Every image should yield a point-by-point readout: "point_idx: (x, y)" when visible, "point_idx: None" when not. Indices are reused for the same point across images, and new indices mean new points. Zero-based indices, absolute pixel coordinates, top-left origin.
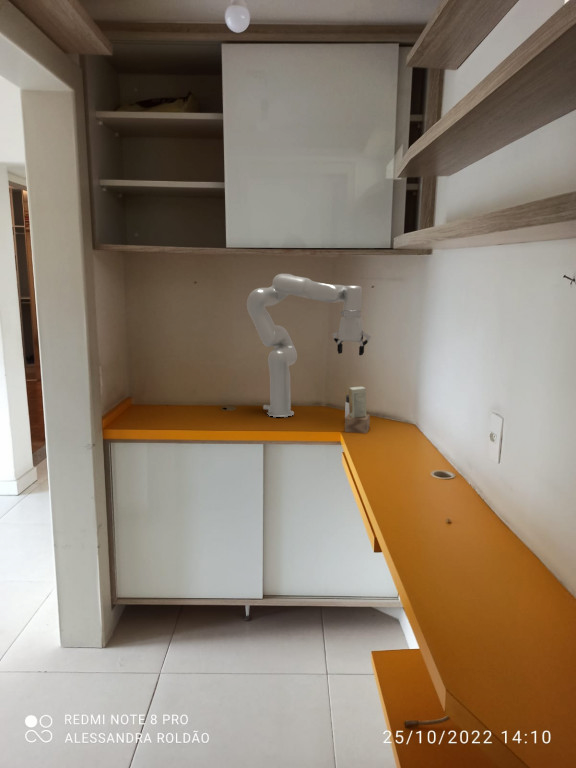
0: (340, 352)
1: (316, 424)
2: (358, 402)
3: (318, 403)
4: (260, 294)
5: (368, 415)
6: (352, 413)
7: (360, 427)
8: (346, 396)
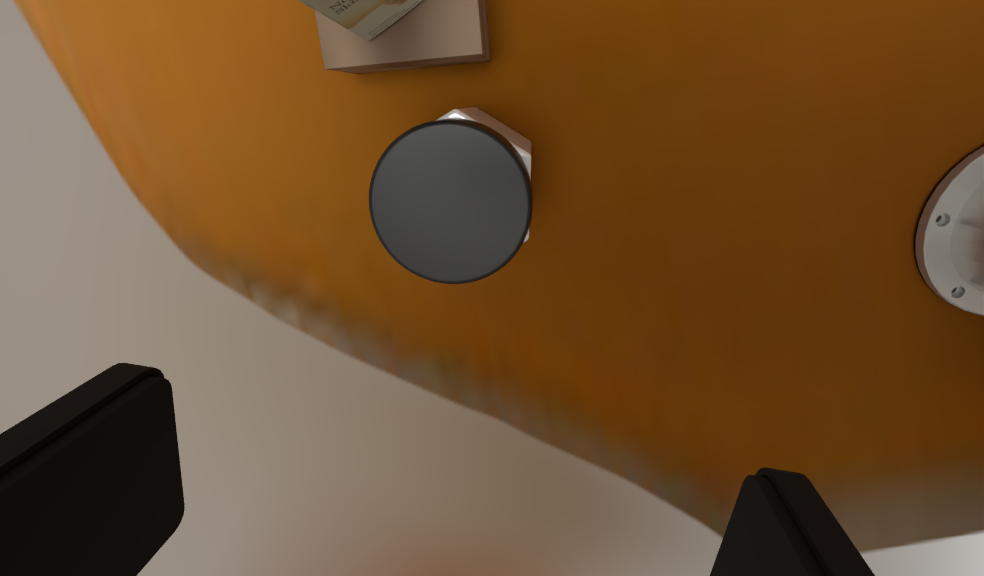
0: (740, 532)
1: (713, 39)
2: None
3: None
4: None
5: (324, 37)
6: None
7: None
8: (521, 169)
